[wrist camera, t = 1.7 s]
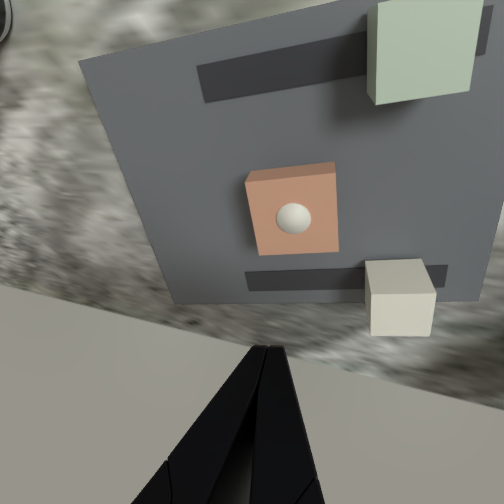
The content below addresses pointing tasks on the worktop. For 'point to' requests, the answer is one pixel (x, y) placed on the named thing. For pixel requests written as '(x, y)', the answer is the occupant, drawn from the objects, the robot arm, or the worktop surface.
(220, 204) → the control panel
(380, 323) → the cream slider
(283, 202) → the terracotta button
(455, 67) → the sage slider
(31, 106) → the worktop surface
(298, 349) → the worktop surface
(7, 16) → the supplement bottle
